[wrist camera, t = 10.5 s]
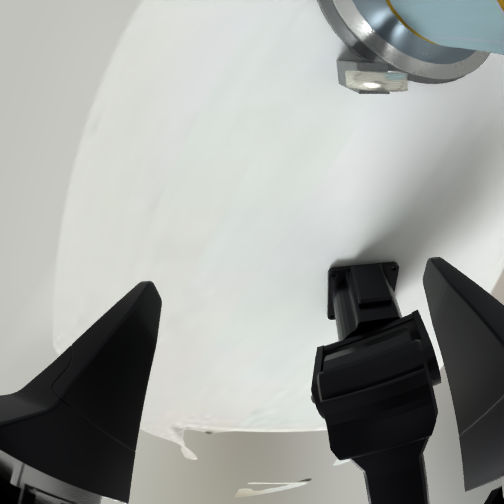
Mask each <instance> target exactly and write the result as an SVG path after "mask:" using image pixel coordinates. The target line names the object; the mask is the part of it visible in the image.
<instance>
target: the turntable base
mask: <svg viewBox="0 0 504 504" xmlns="http://www.w3.org/2000/svg"><path fill="white" fill-rule="evenodd" d="M317 1H318V4H319V6H320V8H321V11H322V13H323V14H324V16H325V18H326V20H327V21H328V23H329V24H330V26H331V27H332V29H333V30H334V31H335V33H336V34H337V35H338V36H339V37H340V38H341V40H342V41H343V42H344V43H345V44H346V45H347V46H348V47H349V48H350V49H351V50H352V51H353V52H355V53H356V54H357V55H359V56H360V57H361V58H362V59H364V60H365V61H361V60H340V61H337V69H338V78H339V84H341V85H343V86H345V87H347V88H349V89H351V90H353V91H355V92H357V93H359V94H389V91H391V92H399V91H407V90H408V80H410V81H414V82H419V83H426V84H439V83H447V82H451V81H454V80H457V79H459V78H461V77H464V76H465V75H464V76H461V77H457V78H452V79H433V78H428V77H423V76H419V75H415V74H412V73H408V72H405V71H403V70H400V69H398V68H395V67H394V66H392V65H390V64H388V63H386V62H384V61H383V60H381V59H380V58H378V57H377V56H375V55H374V54H373V53H372V52H370V51H369V50H368V49H367V48H365V47H364V46H363V45H362V44H361V43H360V42H359V41H358V40H357V39H356V38H355V37H354V36H353V35H352V34H351V32H350V31H349V30H348V29H347V28H346V27H345V25H344V24H343V22H342V21H341V19H340V18H339V16H338V15H337V13H336V11H335V9H334V7H333V6H332V3H331V1H330V0H317Z"/></svg>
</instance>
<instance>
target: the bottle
mask: <svg viewBox="0 0 504 504" xmlns="http://www.w3.org/2000/svg"><path fill="white" fill-rule="evenodd" d="M386 2H387V4H388V6H389V8H390V10H391V11H392V12H393V14H394V15H395V16H396V17H397V18H398V20H399V21H400V22H401V23H402V24H403V25H404V26H405V27H406V28H408V29H409V30H410V31H411V32H413V33H414V34H415V35H416V36H418V37H420V38H422V39H424V40H426V41H428V42H430V43H433V44H436V45H442V46H448V47H455V48H464V49H472V50H479V51H485V52H491V53H497V54H502V55H504V0H386Z"/></svg>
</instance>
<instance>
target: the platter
mask: <svg viewBox="0 0 504 504" xmlns="http://www.w3.org/2000/svg"><path fill="white" fill-rule="evenodd" d="M330 1H331V3H332V6H333V7H334V9H335V11H336V13H337V15H338V16H339V18H340V19H341V21H342V22H343V24H344V25H345V27H346V28H347V29H348V30H349V31H350V32H351V34H352V35H353V36H354V37H355V38H356V39H357V40H358V41H359V42H360V43H361V44H362V45H363V46H364V47H365V48H367V49H368V50H369V51H370V52H372V53H373V54H374V55H375V56H377V57H378V58H380V59H381V60H383V61H384V62H386V63H388V64H390V65H392V66H394V67H395V68H398V69H400V70H403V71H405V72H408V73H412V74H415V75H419V76H423V77H428V78H433V79H452V78H457V77H461V76H464V75H467V74H469V73H471V72H473V71H474V70H476V69H477V68H478V67H479V66H480V65H481V64H483V63H484V61H485V60H486V59H487V57H488V56H489V54H490V52H485V51H479V50H472V49H464V48H455V47H448V46H442V45H436V44H433V43H430V42H428V41H426V40H424V39H422V38H420V37H418V36H416V35H415V34H414V33H413V32H411V31H410V30H409V29H408V28H406V27H405V26H404V25H403V24H402V23H401V22H400V21H399V20H398V18H397V17H396V16H395V15H394V14H393V12H392V11H391V10H390V8H389V6H388V4H387V2H386V0H330Z"/></svg>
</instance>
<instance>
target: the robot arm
mask: <svg viewBox="0 0 504 504" xmlns="http://www.w3.org/2000/svg"><path fill="white" fill-rule="evenodd" d="M393 267H394V268H393ZM398 272H399V266H398V264H397V263H396V262H387V263H377V264H367V265H357V266H346V267H335V268H331V269H329V271H328V305H327V316H328V319H330V320H334V319H336V325H337V332H338V339H339V341H338V342H335V343H332V344H329V345H326V346H324V345H323V346H320V347H317V353H316V357H315V365H314V372H313V380H312V387H311V392H312V396H311V399H312V402H313V403H315V404H316V407H317V410H318V412H319V414H320V415H321V417H322V418H324V419H325V421H326V424H327V429H328V435H329V442H330V448H331V451H332V452H333V453H334V454H335V456H336V457H337V458H338V459H339V460H345V459H350V460H351V461H352V462H353V463H354V464H355V465H356V466H358V467H359V468H360V469H361V470H362V471H363V473H364V478H365V483H366V489H367V495H368V501H369V504H430V502H429V493H428V484H427V476H426V469H425V462H424V455H423V451H424V449H425V447H426V444H427V442H428V439H429V437H430V436H431V435H432V433H433V430H434V426H435V423H436V418H437V414H438V409H437V404H436V399H435V395H434V390H433V386H434V385H437V384H439V383H441V377H440V371H439V367H438V363H437V359H436V355H435V352H434V349H433V346H432V343H431V340H430V338H429V335H428V333H427V331H426V328H425V326H424V323H423V321H422V319H421V316H420V314H419V312H418V310H416V311H414V312H412V314H409V315H407V316H405V317H402V315H401V312H400V309H399V306H398V303H397V300H396V298H395V295H394V291H395V286H396V281H397V277H398ZM332 273H335V274H332ZM423 285H424V289H425V293H426V298H427V302H428V306H429V311H430V316H431V320H432V324H433V328H434V331H435V334H436V338H437V341H438V344H439V348H440V351H441V355H442V358H443V362H444V366H445V370H446V373H447V378H448V382H449V386H450V390H451V394H452V400H453V405H454V410H455V415H456V420H457V426H458V432H459V436H460V437H459V440H460V447H461V454H462V462H463V473H464V486H465V491H469V490H471V489H474V488H477V487H480V486H482V485H485V484H487V483H490V482H492V481H494V480H497V479H499V478H501V481H502V486H500V487H498V488H496V489H494V490H492V491H491V493H490V495H489V496H488V498H487V500H486V501H485V503H484V504H504V305H503V304H501V303H500V302H499V301H498V300H497V299H495V298H494V297H493V296H492V295H490V294H489V293H488V292H487V291H485V290H484V289H483V288H481V287H480V286H479V285H478V284H476V283H475V282H474V281H472V280H471V279H470V278H468V277H467V276H466V275H464V274H463V273H462V272H460V271H459V270H457V269H456V268H455V267H453V266H452V265H451V264H449V263H448V262H446V261H445V260H444V259H442V258H441V257H433V258H429V259H428V261H427V264H426V268H425V272H424V276H423ZM161 306H162V301H161V297H160V295H159V293H158V291H157V289H156V287H155V285H154V283H153V282H151V281H143V282H140V283H139V284H137V285H136V286H135V287H134V288H133V289H132V290H131V291H130V292H128V293H127V294H126V295H125V296H124V297H123V298H122V299H121V300H119V301H118V302H117V303H116V304H115V305H114V306H113V307H112V308H111V309H110V310H108V311H107V312H106V313H105V314H104V315H103V316H102V317H101V318H100V319H99V320H97V321H96V322H95V323H94V324H93V325H92V326H91V327H90V328H89V329H88V330H87V331H86V332H85V333H84V334H82V335H81V336H80V337H79V338H78V339H77V340H76V341H75V342H74V343H73V344H72V346H70V347H69V348H68V349H67V350H66V351H65V352H64V353H62V354H61V355H60V356H59V357H58V358H57V359H56V360H55V361H54V362H53V363H52V364H50V365H49V366H48V367H47V368H46V369H45V370H44V371H42V372H41V373H40V374H39V375H38V376H36V377H35V378H34V379H33V380H32V381H31V382H30V383H28V384H27V385H26V386H25V387H24V388H22V389H21V390H19V391H18V392H15V393H13V394H9V395H2V396H0V504H100V503H101V499H102V496H103V497H106V498H109V499H113V500H116V501H120V502H123V503H127V504H128V502H129V496H130V487H131V479H132V473H133V465H134V459H135V451H136V445H137V438H138V433H139V427H140V422H141V416H142V411H143V405H144V400H145V395H146V390H147V385H148V381H149V376H150V371H151V367H152V362H153V358H154V353H155V349H156V344H157V337H158V329H159V321H160V314H161Z"/></svg>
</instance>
